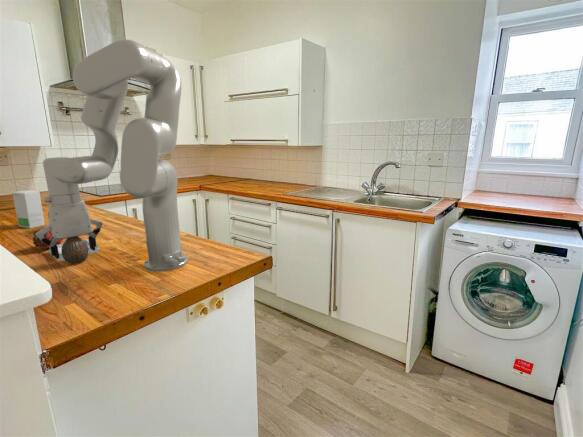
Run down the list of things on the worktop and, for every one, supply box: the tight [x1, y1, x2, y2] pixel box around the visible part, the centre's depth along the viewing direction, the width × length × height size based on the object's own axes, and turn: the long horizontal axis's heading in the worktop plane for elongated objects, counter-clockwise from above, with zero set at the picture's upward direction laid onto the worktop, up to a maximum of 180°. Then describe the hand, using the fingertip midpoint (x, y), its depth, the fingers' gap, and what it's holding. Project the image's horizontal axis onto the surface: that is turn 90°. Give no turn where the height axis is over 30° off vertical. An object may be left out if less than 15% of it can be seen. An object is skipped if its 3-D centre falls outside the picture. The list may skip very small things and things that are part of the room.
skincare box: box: [12, 189, 46, 229], centre depth 142 cm, size 8×7×16 cm
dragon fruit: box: [32, 226, 64, 251], centre depth 114 cm, size 8×8×12 cm
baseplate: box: [48, 238, 101, 262], centre depth 109 cm, size 12×12×2 cm
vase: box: [61, 236, 89, 265], centre depth 100 cm, size 7×7×9 cm
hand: (75, 253), depth 100 cm, fingers open, 9 cm apart
